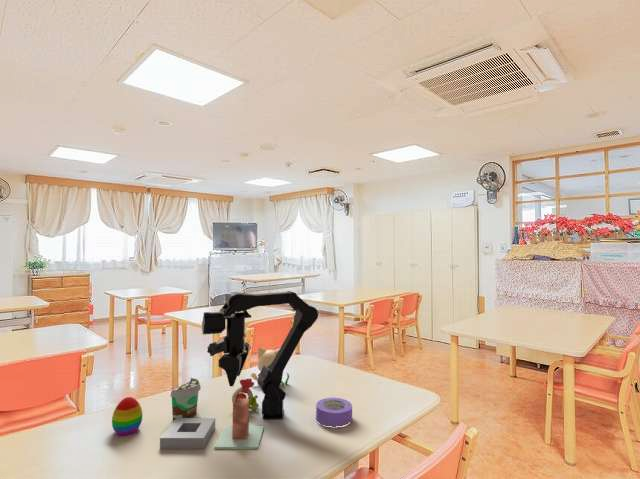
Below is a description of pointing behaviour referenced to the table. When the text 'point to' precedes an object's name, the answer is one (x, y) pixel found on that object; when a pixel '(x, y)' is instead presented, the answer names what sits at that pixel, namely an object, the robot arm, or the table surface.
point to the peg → (240, 419)
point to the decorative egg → (127, 416)
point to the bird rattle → (245, 389)
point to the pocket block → (188, 433)
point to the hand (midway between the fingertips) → (234, 380)
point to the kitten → (266, 361)
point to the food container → (185, 399)
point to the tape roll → (333, 412)
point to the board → (249, 443)
